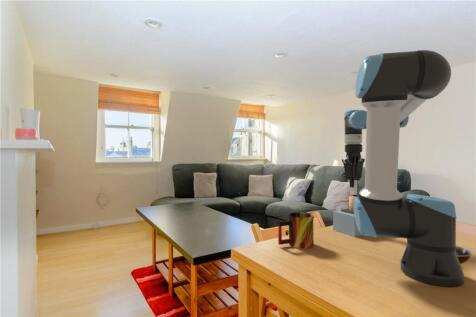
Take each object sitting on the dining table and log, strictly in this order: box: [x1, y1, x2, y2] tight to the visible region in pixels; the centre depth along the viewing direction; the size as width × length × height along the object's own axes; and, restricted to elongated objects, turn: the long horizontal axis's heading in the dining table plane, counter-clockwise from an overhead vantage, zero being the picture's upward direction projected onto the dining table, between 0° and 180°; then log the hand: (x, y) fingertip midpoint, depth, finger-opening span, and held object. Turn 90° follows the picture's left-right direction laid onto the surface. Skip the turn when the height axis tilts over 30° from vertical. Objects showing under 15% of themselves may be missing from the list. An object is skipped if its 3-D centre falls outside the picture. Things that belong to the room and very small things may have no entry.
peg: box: [348, 195, 359, 211], centre depth 122 cm, size 4×4×10 cm
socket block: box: [332, 207, 363, 238], centre depth 122 cm, size 14×12×10 cm
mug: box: [277, 211, 315, 250], centre depth 103 cm, size 10×14×12 cm
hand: (353, 194), depth 122 cm, fingers closed
